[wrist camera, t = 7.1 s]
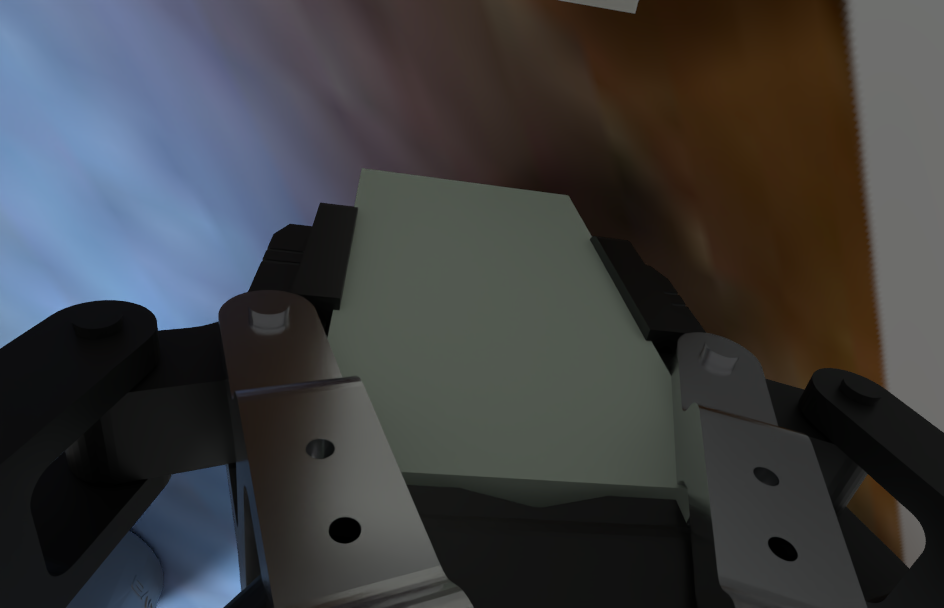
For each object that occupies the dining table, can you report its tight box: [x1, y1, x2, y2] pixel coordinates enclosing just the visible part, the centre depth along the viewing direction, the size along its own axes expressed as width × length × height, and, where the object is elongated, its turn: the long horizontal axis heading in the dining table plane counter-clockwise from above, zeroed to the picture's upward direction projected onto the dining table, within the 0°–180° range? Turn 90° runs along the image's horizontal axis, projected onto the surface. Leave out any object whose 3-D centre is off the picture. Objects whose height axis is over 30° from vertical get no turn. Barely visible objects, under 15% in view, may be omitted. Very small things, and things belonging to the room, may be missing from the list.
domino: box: [327, 168, 690, 523], centre depth 11 cm, size 2×5×9 cm, turn 81°
